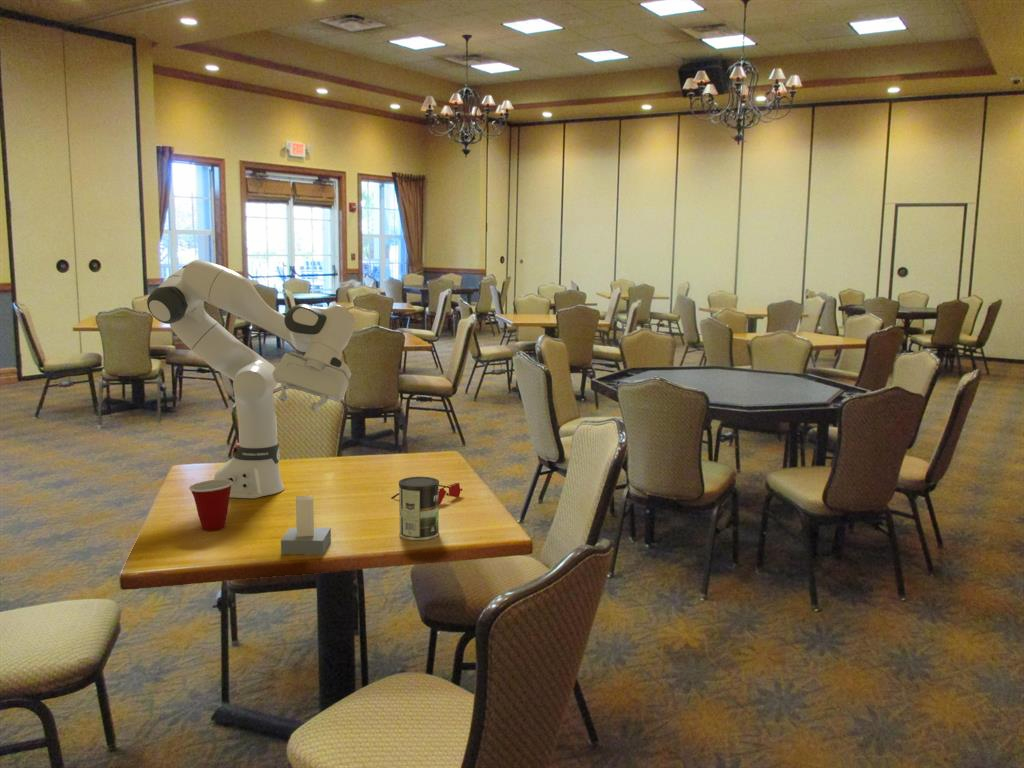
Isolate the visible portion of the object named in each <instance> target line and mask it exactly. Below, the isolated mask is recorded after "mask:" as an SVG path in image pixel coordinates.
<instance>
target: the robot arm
mask: <svg viewBox="0 0 1024 768" xmlns="http://www.w3.org/2000/svg"><path fill="white" fill-rule="evenodd" d="M204 304H209V305H211V306H213V307H216V308H217V309H220V310H223V311H225V312H227V313H230V314H232V315H234V316H236V317H238V318H240V319H242V320H245V321H247V322H249V323H250V324H253V325H254V326H256V327H258V328H260V329H262V330H264V331H265V332H267V333H270V334H272V335H274V336H275V337H277V338H279V339H281V340H283V341H285V342H286V343H287V344H289V346H291V348H292V349H293V350H294V351H295V352H294V351H290V352H287V353H284V354H283V356H282V357H281V359H280V362H278V364H277V365H276V367H275V366H274V365H273V364H272V363H271V362H269V361H268V360H267V359H265V358H264V357H262V356H261V355H260V354H259V353H257V352H256V351H254V350H253V349H252V348H250V347H249V346H247V345H246V344H244V343H242V341H240V340H239V339H238V338H236V337H235V335H233V334H232V333H230V332H229V331H228V330H227V329H226V328H225V327H224V326H223V325H221V323H219V322H218V321H217V320H215V319H214V318H213V317H212V316H210V314H209V313H208V312H207V311H206V309H205V305H204ZM146 306H147V309H148V311H149V313H150V314H151V316H152V317H153V318H154V319H156V320H157V321H158V322H161V323H163V324H166V325H169V326H170V328H171V330H172V331H173V333H174V334H175V335H176V336H177V337H178V338H179V340H180V341H181V342H182V343H183V344H184V345H185V346H187V348H188V349H190V351H192V352H193V353H194V354H196V355H197V356H198V357H199V359H201V360H202V361H204V362H205V363H206V364H207V365H208V366H210V367H211V369H213V370H215V371H217V372H219V373H220V374H222V375H224V376H225V377H228V378H229V379H230V380H232V382H233V383H232V390H233V395H234V403H235V408H236V414H237V420H238V423H237V424H238V442H237V443H236V444H234V445H233V447H232V450H231V455H232V456H233V457H232V458H231V459H229V460H228V461H227V462H225V463H224V464H223V465H222V466H220V467H219V468H218V469H217V470H216V472H215V474H214V477H213V480H218V479H226V480H231V481H233V484H232V485H231V490H230V496H229V498H236V499H237V498H238V499H258V498H261V497H265V496H271V495H276V494H278V493H280V492H283V490H284V489H285V486H284V484H283V480H282V476H281V471H280V465H279V464H280V458H281V456H280V446H279V445H280V444H279V443H278V425H277V424H278V422H277V418H278V417H277V415H276V414H277V413H276V409H275V407H276V406H275V400H274V391H275V389H276V388H277V386H278V384H280V394H279V396H278V399H279V400H280V401H283V402H287V400H288V398H289V395H288V394H287V393H286V392H287V391H286V390H289V388H293V389H296V390H299V391H302V392H305V393H309V394H312V395H315V396H317V397H319V398H320V399H319V400H318V401H316V402H314V401H313V402H312V403H311V405H310V410H312V411H313V412H318V411H319V409H320V407H322V406H324V405H325V404H326V403H328V400H331V401H333V402H335V403H336V402H337V403H340V401H343V399H344V397H345V396H346V393H347V390H348V387H349V380H350V379H351V377H352V373H351V369H350V368H349V366H348V365H347V364H346V363H345V361H343V360H341V358H342V353H343V351H344V349H345V348H346V347H347V346H348V344H349V342H350V340H351V337H352V335H353V333H354V330H355V326H356V320H355V317H354V315H353V313H352V312H350V310H348V308H346V307H344V306H342V305H340V304H333V305H330V306H314V305H310V304H308V303H299V304H295V305H293V306H292V307H290V308H289V309H288V310H287V312H286V313H285V315H284V314H283V313H281V312H279V311H277V310H275V309H273V308H272V307H270V306H269V305H268V304H267V303H266V301H265V300H264V299H263V298H262V297H261V295H260V293H258V291H257V289H256V288H255V286H254V285H253V283H252V282H251V281H250V280H249V279H248V278H246V277H245V276H244V275H241V274H240V273H238V272H237V271H234V270H232V269H230V268H228V267H225V266H223V265H220V264H217V263H214V262H211V261H206V260H202V259H195V260H192V261H190V262H189V263H187V264H186V265H184V266H182V267H181V268H180V269H179V270H177V271H176V272H173V273H172V274H171V275H169V276H168V277H167V278H166V279H165V280H164V281H163V282H162V283H161V284H160V285H159V286H158V287H156V288H154V289H153V290H152V291H151V292H150V293H149V296H148V297H147V300H146Z"/></svg>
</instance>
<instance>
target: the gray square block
mask: <svg viewBox="0 0 1024 768" xmlns="http://www.w3.org/2000/svg"><path fill="white" fill-rule="evenodd" d="M331 542H332V529H331V527H314V536H302V537H297V526H296V527H295V526H294V527H291V526H290V528H289V529H288V530H287V532H286V533H285V534H284V536H283V537H282V538H281V540H280V555H281V554H311V555H310V556H324V555H325V552H326V551H325V550H327V549H328V547H329V546H330V544H331ZM329 543H330V544H329ZM328 545H329V546H328ZM312 554H313V555H312ZM314 554H315V555H314ZM323 554H324V555H323Z"/></svg>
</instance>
